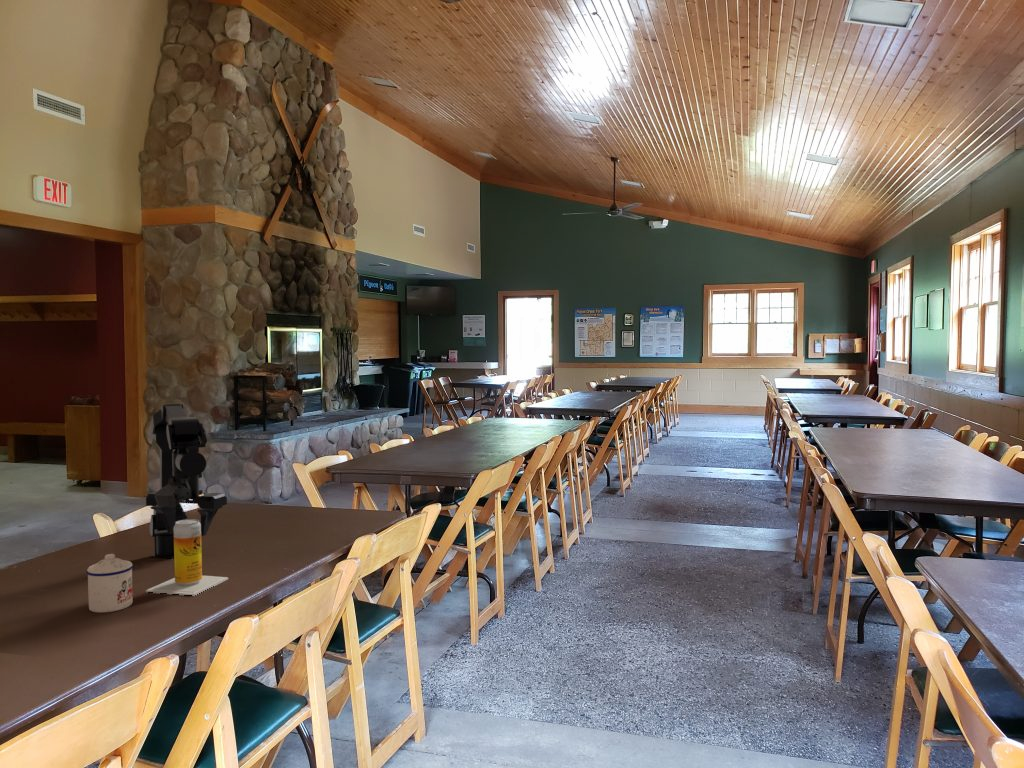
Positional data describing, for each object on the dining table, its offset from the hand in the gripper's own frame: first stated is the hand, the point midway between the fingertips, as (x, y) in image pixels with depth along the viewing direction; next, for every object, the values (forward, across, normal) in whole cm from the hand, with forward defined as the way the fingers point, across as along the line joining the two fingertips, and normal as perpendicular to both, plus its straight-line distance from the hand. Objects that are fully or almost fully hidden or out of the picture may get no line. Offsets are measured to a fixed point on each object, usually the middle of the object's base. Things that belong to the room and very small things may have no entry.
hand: (187, 534), depth 177 cm
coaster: (+12, 0, 0) cm, 12 cm away
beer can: (+12, 0, 0) cm, 12 cm away
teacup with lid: (+13, -8, -15) cm, 21 cm away
